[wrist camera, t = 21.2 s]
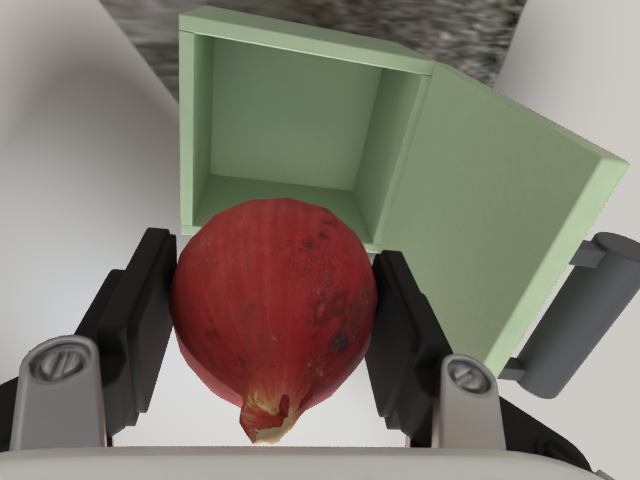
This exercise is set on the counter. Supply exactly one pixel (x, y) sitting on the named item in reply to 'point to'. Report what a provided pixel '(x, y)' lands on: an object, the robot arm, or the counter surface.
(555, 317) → the lid
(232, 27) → the chest
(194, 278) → the onion
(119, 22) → the counter surface
